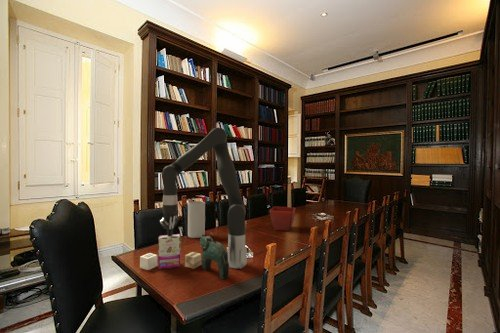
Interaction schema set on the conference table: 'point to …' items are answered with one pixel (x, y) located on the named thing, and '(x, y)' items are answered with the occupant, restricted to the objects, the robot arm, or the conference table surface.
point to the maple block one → (192, 260)
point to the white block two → (148, 261)
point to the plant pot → (282, 218)
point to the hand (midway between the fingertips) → (169, 235)
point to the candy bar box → (169, 251)
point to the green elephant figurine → (214, 255)
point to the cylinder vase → (196, 219)
